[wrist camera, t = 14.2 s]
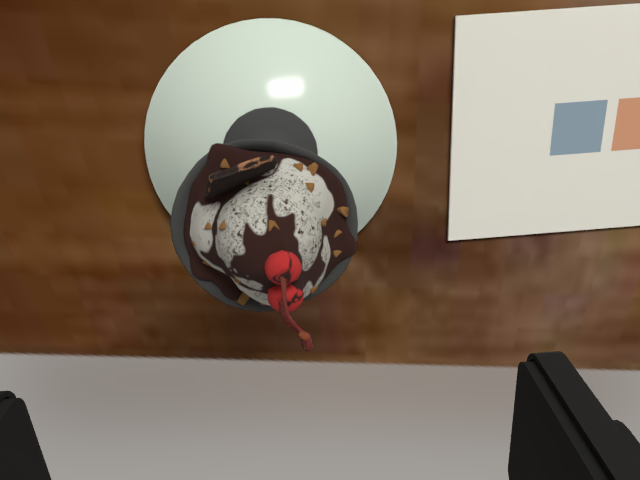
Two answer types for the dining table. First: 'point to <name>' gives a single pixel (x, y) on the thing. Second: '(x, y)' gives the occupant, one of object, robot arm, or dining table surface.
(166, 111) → the plate
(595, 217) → the tile
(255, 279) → the sundae
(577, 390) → the robot arm
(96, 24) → the dining table surface
